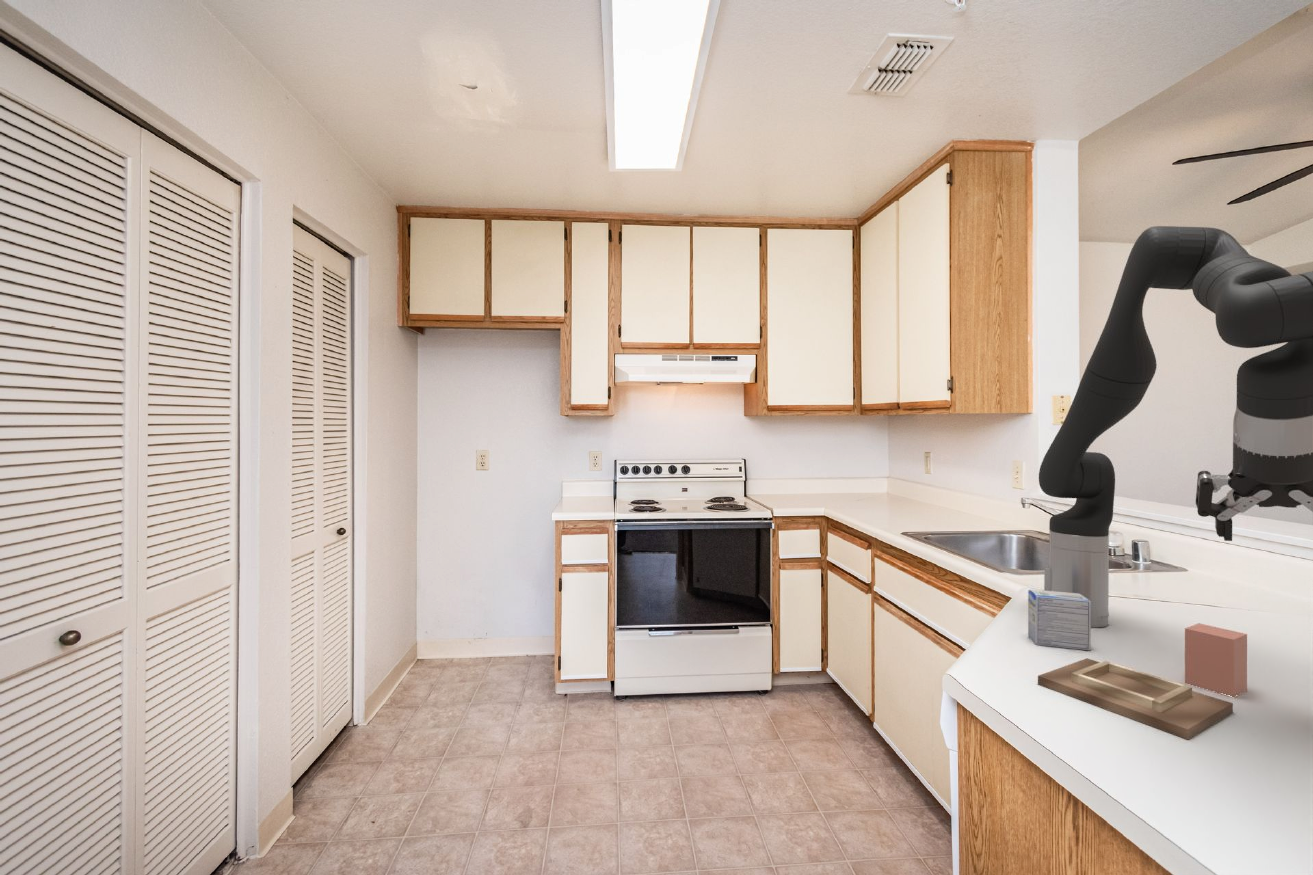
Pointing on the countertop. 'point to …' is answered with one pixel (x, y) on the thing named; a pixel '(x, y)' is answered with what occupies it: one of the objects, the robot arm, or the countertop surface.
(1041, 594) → the medicine box
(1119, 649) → the countertop surface
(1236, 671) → the salmon pink rectangular block
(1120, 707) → the socket plate
